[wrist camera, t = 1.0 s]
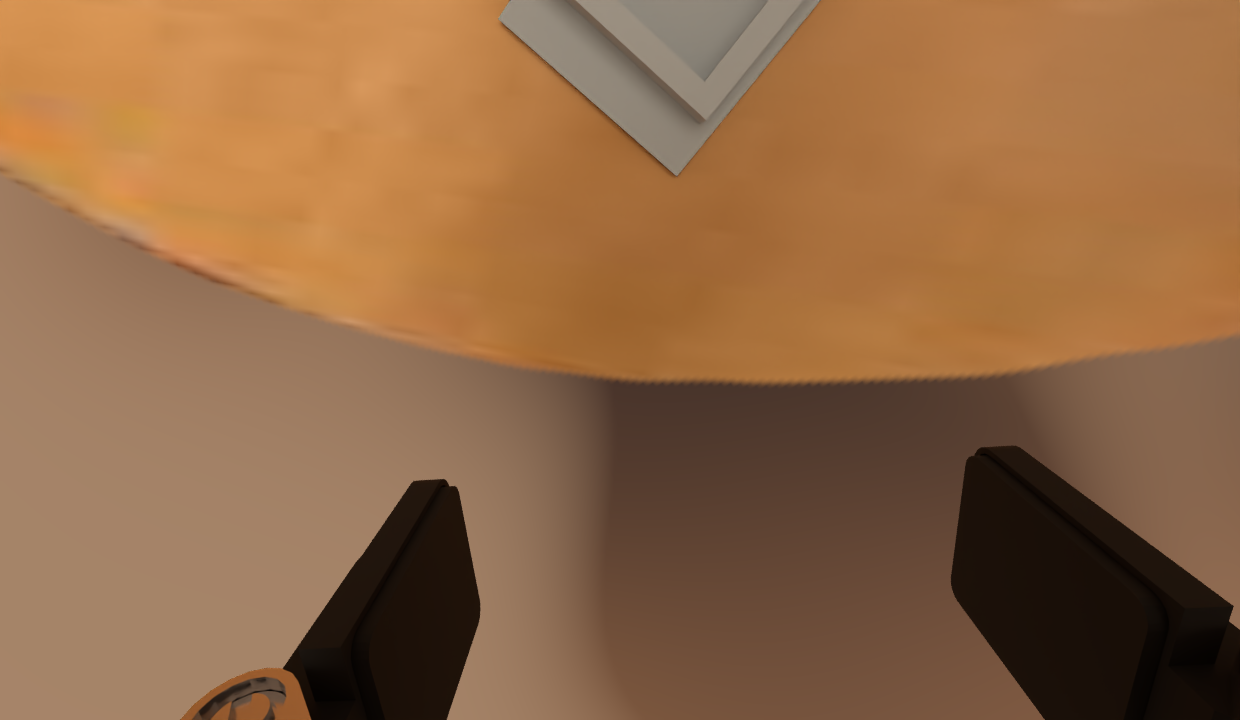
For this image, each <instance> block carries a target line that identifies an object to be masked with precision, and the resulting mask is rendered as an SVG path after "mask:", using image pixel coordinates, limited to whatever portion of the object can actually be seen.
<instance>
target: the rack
mask: <svg viewBox="0 0 1240 720" xmlns="http://www.w3.org/2000/svg"><path fill="white" fill-rule="evenodd" d="M819 2H820V0H510V1H509V3H508V4H507V6H506V7H505V9H504V10H503V12H502V14H501V15H500V17H499V18H498V19H499V20H500V21H501V22H502V23H503V24H504V25H505V26H506V27H508V28H509V29H510V30H511V31H512V32H513V33H514V34H516V35H517V36H518V37H519V38H520V39H521V40H522V41H523V42H525V43H526V44H527V45H528V46H529V47H530V48H531V49H533V50H534V51H535V52H536V53H537V54H538V55H539V56H540V57H542V58H543V59H544V60H545V61H546V62H547V63H548V64H550V65H551V66H552V67H553V68H554V69H555V70H556V71H558V72H559V73H560V74H561V75H562V76H563V77H564V78H565V79H567V80H568V81H569V82H570V83H571V84H572V85H573V86H575V87H576V88H577V89H578V90H579V91H580V92H581V93H582V94H584V95H585V96H586V97H587V98H588V99H589V100H590V101H592V102H593V103H594V104H595V105H596V106H597V107H598V108H599V109H601V110H602V111H603V112H604V113H605V114H606V115H607V116H609V117H610V118H611V119H612V120H613V121H614V122H615V123H617V124H618V125H619V126H620V127H621V128H622V129H623V130H624V131H626V132H627V133H628V134H629V135H630V136H631V137H632V138H634V139H635V140H636V141H637V142H638V143H639V144H640V145H641V146H643V147H644V148H645V149H646V150H647V151H648V152H649V153H651V154H652V155H653V156H654V157H655V158H656V159H657V160H659V161H660V162H661V163H662V164H663V165H664V166H665V167H666V168H668V169H669V170H670V171H671V172H672V173H673V174H674V175H676V176H678V174H679V173H680V172H681V171H682V169H683V168H684V167H685V166H686V165H687V163H688V162H689V161H690V160H691V158H692V157H693V156H694V155H695V154H696V152H697V151H698V150H699V149H700V147H701V146H702V145H703V144H704V143H705V141H706V140H707V139H708V138H709V136H710V135H711V134H712V133H713V131H714V130H715V129H716V128H717V127H718V125H719V124H720V123H721V122H722V120H723V119H724V118H725V117H726V116H727V114H728V113H729V112H730V111H731V109H732V108H733V107H734V106H735V105H736V103H737V102H738V101H739V100H740V98H741V97H742V96H743V95H744V93H745V92H746V91H747V90H748V89H749V87H750V86H751V85H752V84H753V82H754V81H755V80H756V79H757V78H758V76H759V75H760V74H761V73H762V71H763V70H764V69H765V68H766V67H767V65H768V64H769V63H770V62H771V60H772V59H773V58H774V57H775V55H776V54H777V53H778V52H779V51H780V49H781V48H782V47H783V46H784V44H785V43H786V42H787V41H788V40H789V38H790V37H791V36H792V35H793V33H794V32H795V31H796V30H797V29H798V27H799V26H800V25H801V24H802V22H803V21H804V20H805V19H806V17H807V16H808V15H809V14H810V13H811V11H812V10H813V9H814V8H815V6H816V5H817V4H818V3H819Z"/></svg>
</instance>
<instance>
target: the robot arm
mask: <svg viewBox="0 0 1240 720" xmlns="http://www.w3.org/2000/svg"><path fill="white" fill-rule="evenodd" d="M951 586H952V590H953V593H954V595H955V598H956V599H957V601H958V602H959V604H960V605H961V606H962V608H963V609H964V611H965V612H966V613H967V614H968V616H969V617H970V619H971V620H972V621H973V623H974V624H975V625H976V627H977V628H978V630H979V631H980V632H981V634H982V635H983V636H984V637H985V639H986V640H987V642H988V643H989V645H990V646H991V647H992V649H993V650H994V651H995V653H996V654H997V655H998V656H999V658H1000V659H1001V661H1002V662H1003V664H1004V665H1005V666H1006V668H1007V669H1008V670H1009V671H1010V673H1011V674H1012V676H1013V677H1014V678H1015V680H1016V681H1017V683H1018V684H1019V685H1020V687H1021V688H1022V689H1023V691H1024V692H1025V693H1026V695H1027V696H1028V697H1029V699H1030V700H1031V702H1032V703H1033V704H1034V706H1035V707H1036V708H1037V710H1038V711H1039V712H1040V714H1041V715H1042V716H1043V718H1044V719H1045V720H1240V630H1239V629H1238V628H1237V627H1235V626H1234V625H1233V624H1232V623H1230V622H1229V619H1230V616H1231V613H1232V610H1233V607H1234V606H1233V605H1231V604H1230V603H1228V602H1227V601H1226V600H1224V599H1223V598H1222V597H1220V596H1219V595H1218V594H1216V593H1215V592H1214V591H1212V590H1211V589H1210V588H1208V587H1207V586H1206V585H1204V584H1203V583H1202V582H1200V581H1199V580H1198V579H1196V578H1195V577H1194V576H1192V575H1191V574H1190V573H1188V572H1187V571H1185V570H1184V569H1183V568H1181V567H1180V566H1179V565H1177V564H1176V563H1175V562H1173V561H1172V560H1171V559H1169V558H1168V557H1166V556H1165V555H1164V554H1163V553H1161V552H1160V551H1159V550H1157V549H1156V548H1155V547H1153V546H1152V545H1150V544H1149V543H1148V542H1146V541H1145V540H1144V539H1142V538H1141V537H1140V536H1138V535H1137V534H1136V533H1134V532H1133V531H1131V530H1130V529H1129V528H1127V527H1126V526H1125V525H1124V524H1122V523H1121V522H1120V521H1118V520H1117V519H1115V518H1114V517H1113V516H1111V515H1110V514H1109V513H1107V512H1106V511H1105V510H1103V509H1102V508H1101V507H1099V506H1098V505H1097V504H1095V503H1094V502H1093V501H1091V500H1090V499H1088V498H1087V497H1086V496H1084V495H1083V494H1082V493H1080V492H1079V491H1078V490H1076V489H1075V488H1074V487H1072V486H1071V485H1070V484H1068V483H1067V482H1066V481H1064V480H1063V479H1062V478H1060V477H1059V476H1057V475H1056V474H1055V473H1054V472H1052V471H1051V470H1049V469H1048V468H1047V467H1045V466H1044V465H1043V464H1041V463H1040V462H1039V461H1037V460H1036V459H1035V458H1033V457H1032V456H1031V455H1029V454H1028V453H1027V452H1025V451H1024V450H1023V449H1021V448H1019V447H1017V446H998V447H982V448H980V449H978V450H977V452H976V453H975V456H971V457H969V458H968V459H967V462H966V466H965V474H964V481H963V489H962V496H961V504H960V513H959V520H958V527H957V535H956V543H955V550H954V558H953V566H952V574H951ZM479 618H480V599H479V594H478V589H477V584H476V579H475V573H474V568H473V563H472V558H471V553H470V548H469V542H468V537H467V532H466V527H465V522H464V517H463V511H462V506H461V501H460V496H459V491H458V489H457V487H455V486H450V487H449V484H448V483H447V481H446V480H445V479H438V480H421V481H413V482H412V483H411V485H410V486H409V488H408V489H407V491H406V492H405V494H404V495H403V496H402V498H401V499H400V501H399V502H398V504H397V505H396V507H395V508H394V510H393V511H392V512H391V514H390V515H389V517H388V518H387V520H386V521H385V523H384V524H383V526H382V527H381V529H380V530H379V531H378V533H377V534H376V536H375V537H374V539H373V540H372V542H371V543H370V545H369V546H368V548H367V549H366V550H365V552H364V554H363V555H362V556H361V557H360V558H359V560H357V562H356V563H355V564H354V566H353V567H352V569H351V570H350V572H349V573H348V574H347V576H346V577H345V579H344V580H343V582H342V583H341V585H340V586H339V588H338V589H337V591H336V592H335V593H334V595H333V596H332V598H331V599H330V601H329V602H328V604H327V605H326V606H325V608H324V610H323V611H322V612H321V614H320V615H319V617H318V618H317V620H316V621H315V622H314V624H313V625H312V627H311V628H310V630H309V631H308V633H307V634H306V635H305V637H304V638H303V640H302V641H301V643H300V644H299V646H298V647H297V649H296V650H295V651H294V653H293V654H292V656H291V657H290V659H289V660H288V662H287V663H286V665H285V666H284V667H283V669H281V668H264V669H259V670H254V671H250V672H247V673H245V674H242V675H240V676H237V677H235V678H232V679H230V680H228V681H226V682H225V683H223V684H221V685H220V686H218V687H216V688H214V689H213V690H211V691H210V692H209V693H207V694H206V695H205V696H204V697H203V698H201V699H200V700H199V701H198V702H196V703H195V704H194V705H193V706H192V707H191V708H190V709H189V710H188V711H187V713H186V714H185V715H184V716H183V717H182V718H181V719H180V720H447V717H448V714H449V710H450V708H451V705H452V702H453V698H454V696H455V693H456V690H457V686H458V684H459V681H460V677H461V675H462V672H463V669H464V666H465V662H466V659H467V656H468V654H469V650H470V647H471V644H472V641H473V638H474V635H475V632H476V629H477V626H478V623H479Z"/></svg>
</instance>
